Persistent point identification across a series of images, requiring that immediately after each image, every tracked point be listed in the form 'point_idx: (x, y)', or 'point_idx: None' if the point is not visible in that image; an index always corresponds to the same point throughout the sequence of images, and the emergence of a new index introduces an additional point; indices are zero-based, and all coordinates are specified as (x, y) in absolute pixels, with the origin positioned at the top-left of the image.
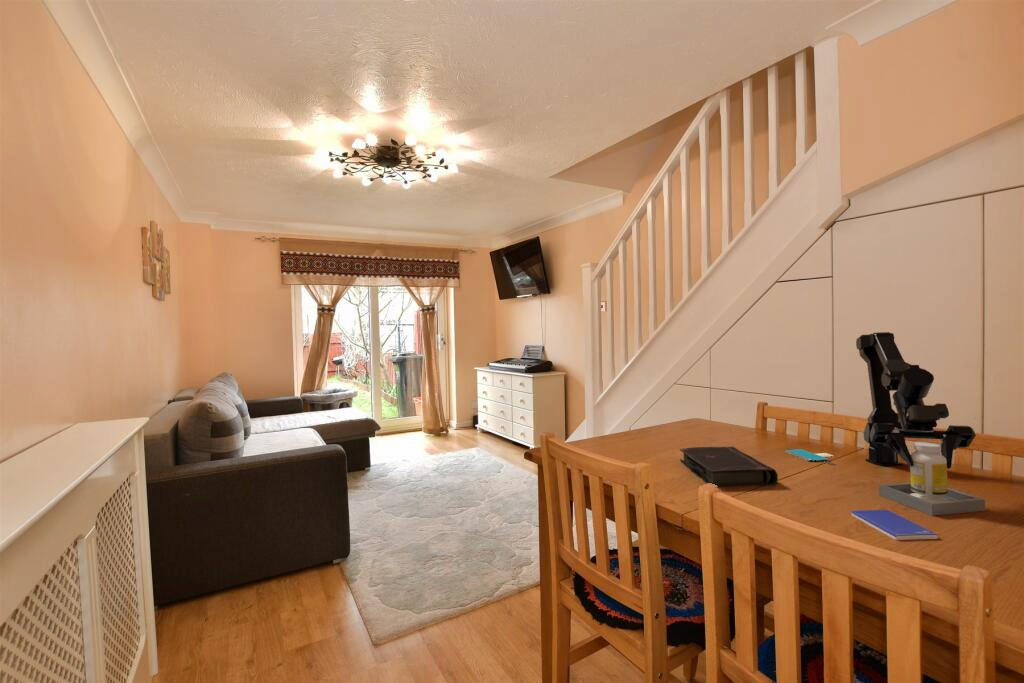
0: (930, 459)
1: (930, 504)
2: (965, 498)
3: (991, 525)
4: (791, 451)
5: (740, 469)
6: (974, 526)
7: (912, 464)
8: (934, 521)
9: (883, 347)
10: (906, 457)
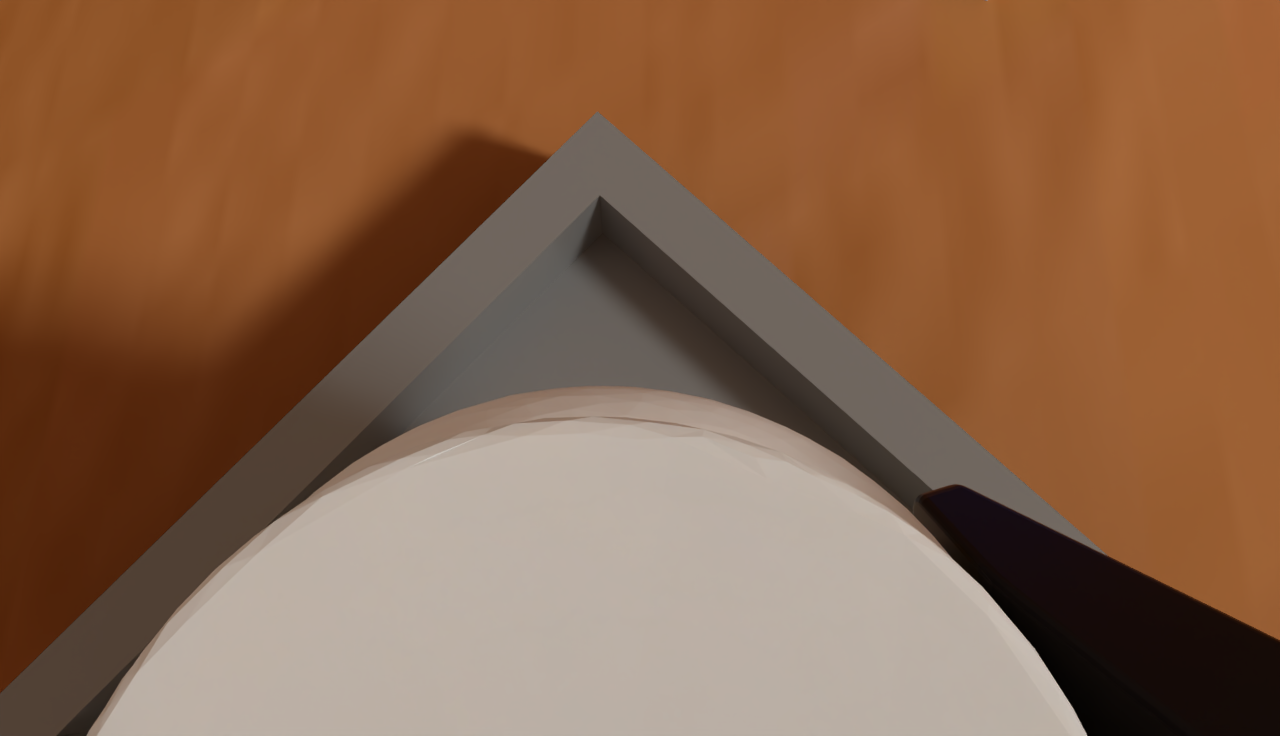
0: (544, 400)
1: (610, 124)
2: None
3: (99, 184)
4: None
5: None
6: (257, 62)
7: (924, 500)
8: (586, 6)
9: None
10: (1120, 579)
